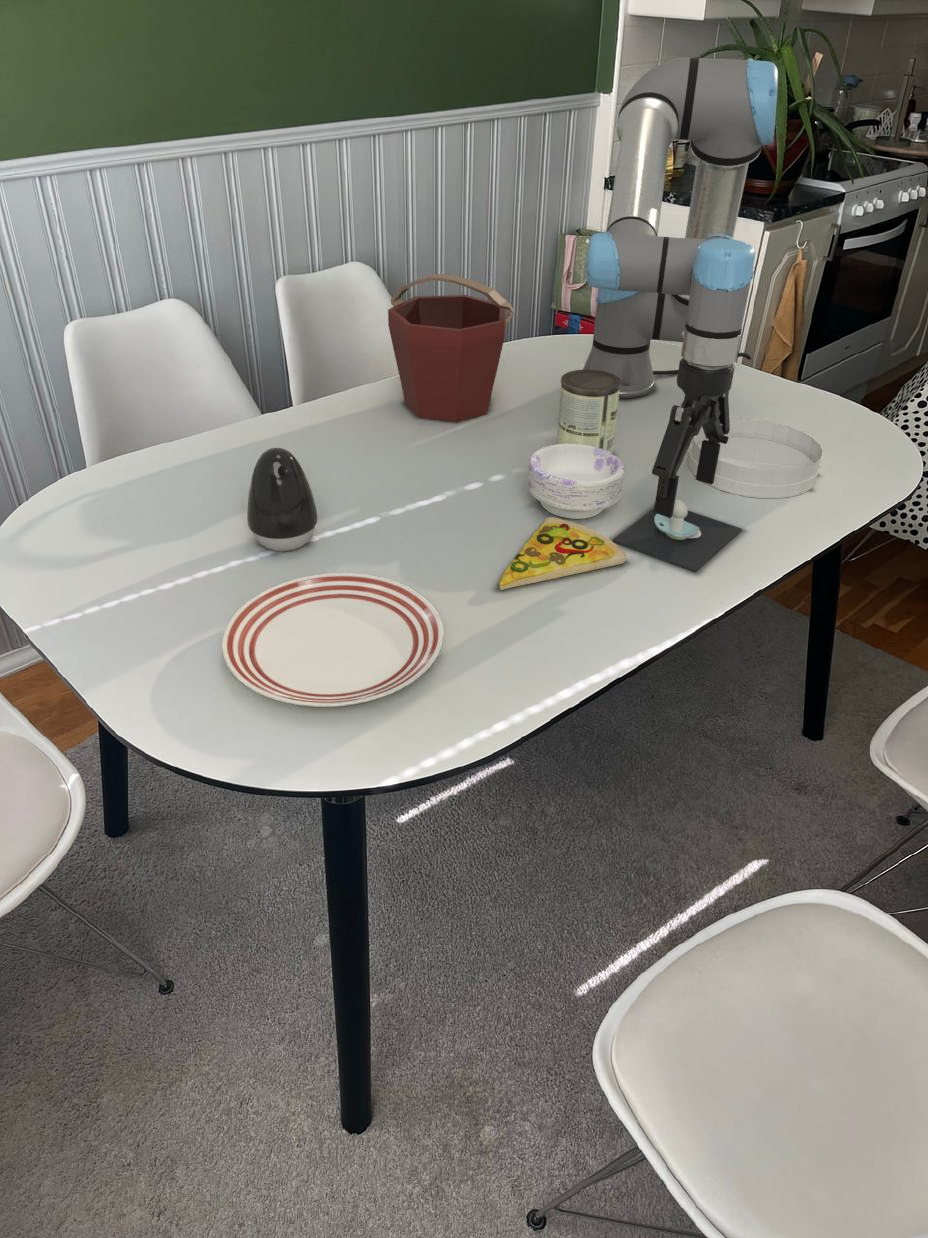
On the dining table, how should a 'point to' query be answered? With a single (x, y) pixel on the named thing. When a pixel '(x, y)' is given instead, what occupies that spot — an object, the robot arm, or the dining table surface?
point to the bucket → (448, 349)
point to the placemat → (679, 551)
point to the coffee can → (588, 408)
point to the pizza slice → (560, 553)
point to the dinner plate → (332, 639)
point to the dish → (762, 460)
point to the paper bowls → (575, 479)
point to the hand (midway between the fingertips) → (684, 497)
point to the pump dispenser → (280, 502)
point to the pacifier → (677, 523)
